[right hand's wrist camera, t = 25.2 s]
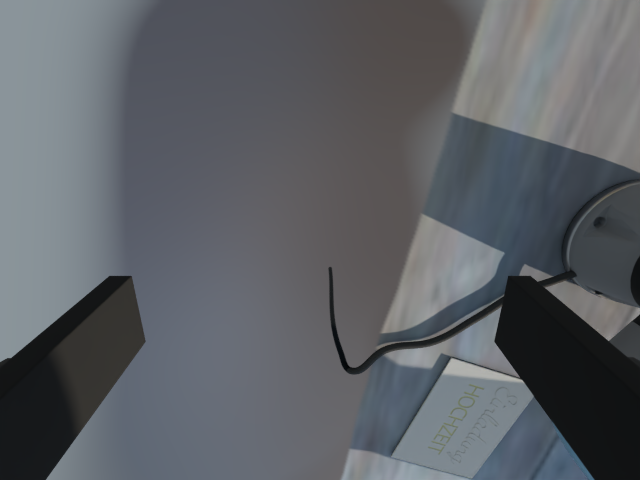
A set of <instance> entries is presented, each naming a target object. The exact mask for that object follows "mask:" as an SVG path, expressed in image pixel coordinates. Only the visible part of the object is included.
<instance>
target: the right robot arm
mask: <svg viewBox="0 0 640 480" xmlns="http://www.w3.org/2000/svg"><path fill="white" fill-rule="evenodd" d="M562 259H563V264H564V267H565V270H566V271H567V272H565V273H563V274H560V275H557V276H554V277H551V278H548V279H546V280H542V281H539V282H537V281H536V280H535V279H533V278H532V277H531V276H508V280H507V285H506V290H505V294H504V297H502V298H500V299H499V300H497V301H496V302H494V303H493V304H491V305H490V306H488V307H487V308H485V309H484V310H482V311H480V312H479V313H477V314H476V315H474V316H472V317H470V318H469V319H467V320H466V321H464V322H462V323H461V324H459V325H458V326H456V327H455V328H453V329H451V330H449V331H448V332H446V333H444V334H442V335H439V336H437V337H434V338H431V339H428V340H424V341H416V342H402V343H395V344H391V345H387V346H385V347H382V348H380V349H379V350H377V351H376V352H375V353H373V354H372V355H371V356H370V357H369V358H368V359H367V360H366V361H365V362H364V363H363V364H362V365H361V366H359V367H357V368H352V367H350V366H349V365H348V363H347V361H346V358H345V354H344V352H343V349H342V346H341V343H340V340H339V337H338V333H337V328H336V322H335V314H334V295H333V273H332V267H329V268H328V270H329V306H330V321H331V328H332V334H333V338H334V342H335V346H336V348H337V351H338V354H339V358H340V361H341V365H342V367H343V368H344V370H345V371H346V372H347V373H349V374H360V373H362V372H364V371H365V370H366V369H368V368H369V367H370V366H371V365H372V364H373V363H374V362H375V361H376V360H377V359H378V358H379V357H381V356H382V355H384V354H386V353H388V352H391V351H395V350H401V349H414V348H423V347H429V346H432V345H436V344H438V343H441V342H443V341H446V340H448V339H450V338H452V337H453V336H455V335H457V334H458V333H460V332H462V331H463V330H465V329H466V328H468V327H470V326H471V325H473V324H475V323H476V322H478V321H480V320H481V319H483V318H485V317H486V316H488V315H489V314H491V313H493V312H494V311H496V310H497V309H499V308H500V307H502V308H501V313H500V318H499V323H498V327H497V332H496V337H495V341H494V342H495V343H496V344H497V346H498V347H499V349H500V350H501V351H502V353H503V354H504V356H505V357H506V358H507V360H508V361H509V362H510V364H511V365H512V367H513V368H514V369H515V371H516V372H517V374H518V375H519V376H520V378H521V379H522V380H523V382H524V383H525V385H526V386H527V387H528V389H529V390H530V391H531V393H532V394H533V396H534V397H535V398H536V400H537V401H538V403H539V404H540V405H541V407H542V408H543V409H544V411H545V412H546V414H547V415H548V416H549V418H550V419H551V421H552V423H553V426H554V428H555V430H556V432H557V434H558V436H559V437H560V439H561V441H562V443H563V444H564V446H565V448H566V449H567V451H568V452H569V454H570V455H571V457H572V458H573V459H574V461H575V462H576V464H577V465H578V466H579V468H580V469H581V470H582V471H583V473H584V474H585V475H586V476H587V478H588V479H589V480H640V315H639V316H638V317H636V318H635V319H634V320H633V321H632V322H630V323H629V324H628V325H627V326H626V327H625V328H624V329H622V330H621V331H620V332H619V333H618V334H617V335H615V336H614V337H613V338H612V339H611V340H610V341H608V340H606V339H605V338H604V337H603V336H602V335H600V334H599V333H598V332H597V331H596V330H595V329H593V328H592V327H591V326H590V325H589V324H587V323H586V322H585V321H584V320H583V319H581V318H580V317H579V316H578V315H577V314H575V313H574V312H573V311H572V310H571V309H569V308H568V307H567V306H566V305H565V304H563V303H562V302H561V301H560V300H559V299H557V298H556V297H555V296H554V295H553V294H551V293H550V292H549V291H548V290H547V289H545V287H548V286H551V285H554V284H557V283H560V282H563V281H566V280H569V279H572V280H573V281H574V282H575V283H577V284H578V285H579V286H581V287H582V288H584V289H585V290H587V291H588V292H590V293H592V294H594V295H597V296H599V297H602V298H605V299H609V300H613V301H616V302H620V303H623V304H627V305H631V306H634V307H638V308H640V180H633V181H628V182H624V183H621V184H618V185H615V186H613V187H611V188H609V189H607V190H605V191H603V192H601V193H600V194H598V195H597V196H595V197H594V198H593V199H592V200H590V201H589V202H588V203H587V204H586V205H585V206H584V207H583V208H582V209H581V210H580V211H579V212H578V214H577V215H576V216H575V217H574V219H573V221H572V222H571V224H570V226H569V227H568V230H567V232H566V234H565V238H564V241H563V247H562ZM144 343H145V337H144V332H143V327H142V323H141V318H140V313H139V309H138V304H137V299H136V294H135V290H134V285H133V280H132V276H109V277H108V278H107V279H105V280H104V281H103V282H102V283H101V284H99V285H98V286H97V287H96V288H95V289H93V290H92V291H91V292H90V293H89V294H87V295H86V296H85V297H84V298H83V299H82V300H80V301H79V302H78V303H77V304H76V305H74V306H73V307H72V308H71V309H69V310H68V311H67V312H66V313H65V314H64V315H62V316H61V317H60V318H59V319H57V320H56V321H55V322H54V323H53V324H51V325H50V326H49V327H48V328H47V329H46V330H44V331H43V332H42V333H41V334H40V335H38V336H37V337H36V338H35V339H34V340H32V341H31V342H30V343H29V344H28V345H26V346H25V347H24V348H23V349H22V350H20V351H19V352H18V353H17V354H16V355H14V356H13V357H12V358H7V359H5V360H3V361H2V362H0V480H46V479H47V477H48V476H49V474H50V473H51V472H52V470H53V469H54V468H55V466H56V465H57V463H58V462H59V461H60V459H61V458H62V456H63V455H64V454H65V452H66V451H67V450H68V448H69V447H70V445H71V444H72V443H73V441H74V440H75V439H76V437H77V436H78V434H79V433H80V432H81V430H82V429H83V427H84V426H85V425H86V423H87V422H88V421H89V419H90V418H91V416H92V415H93V414H94V412H95V411H96V409H97V408H98V407H99V405H100V404H101V402H102V401H103V400H104V398H105V397H106V396H107V394H108V393H109V391H110V390H111V389H112V387H113V386H114V385H115V383H116V382H117V380H118V379H119V378H120V376H121V375H122V374H123V372H124V371H125V369H126V368H127V367H128V365H129V364H130V362H131V361H132V360H133V358H134V357H135V355H136V354H137V353H138V351H139V350H140V349H141V347H142V346H143V344H144Z"/></svg>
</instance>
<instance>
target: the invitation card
mask: <svg viewBox="0 0 640 480" xmlns="http://www.w3.org/2000/svg"><path fill="white" fill-rule="evenodd" d="M533 397H534V396H533V394H532V393H531V391H530V390H529V389H528V387H527V386H526V385H525V383H524V382H523V380H522V379H519V378H516V377H513V376H509V375H506V374H503V373H500V372H497V371H493V370H490V369H487V368H484V367H480V366H477V365H474V364H471V363H468V362H464V361H461V360H458V359H455V358H452V357H451V359H450V360H449V362H448V363H447V365H446V367H445V368H444V370H443V372H442V373H441V375H440V377H439V378H438V380H437V381H436V383H435V385H434V386H433V388H432V390H431V391H430V393H429V395H428V396H427V398H426V399H425V401H424V403H423V404H422V406H421V408H420V409H419V411H418V413H417V414H416V416H415V417H414V419H413V421H412V422H411V424H410V426H409V427H408V429H407V431H406V432H405V434H404V435H403V437H402V439H401V440H400V442H399V444H398V445H397V447H396V449H395V450H394V452H393V453H392V455H391V457H392V458H396V459H400V460H403V461H407V462H411V463H415V464H418V465H422V466H426V467H430V468H433V469H437V470H441V471H445V472H448V473H452V474H456V475H460V476H463V477H467V478H471V479H472V478H473V477H474V476H475V474H476V473H477V472H478V470H479V469H480V468H481V466H482V465H483V464H484V462H485V461H486V460H487V458H488V457H489V456H490V454H491V453H492V452H493V450H494V449H495V448H496V446H497V445H498V444H499V442H500V441H501V440H502V438H503V437H504V436H505V434H506V433H507V432H508V430H509V429H510V428H511V426H512V425H513V424H514V422H515V421H516V420H517V418H518V417H519V416H520V414H521V413H522V412H523V410H524V409H525V408H526V406H527V405H528V404H529V402H530V401H531V400H532V398H533Z"/></svg>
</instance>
